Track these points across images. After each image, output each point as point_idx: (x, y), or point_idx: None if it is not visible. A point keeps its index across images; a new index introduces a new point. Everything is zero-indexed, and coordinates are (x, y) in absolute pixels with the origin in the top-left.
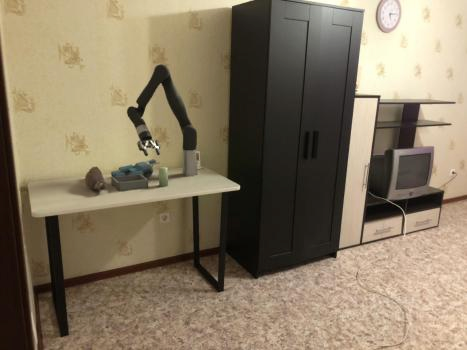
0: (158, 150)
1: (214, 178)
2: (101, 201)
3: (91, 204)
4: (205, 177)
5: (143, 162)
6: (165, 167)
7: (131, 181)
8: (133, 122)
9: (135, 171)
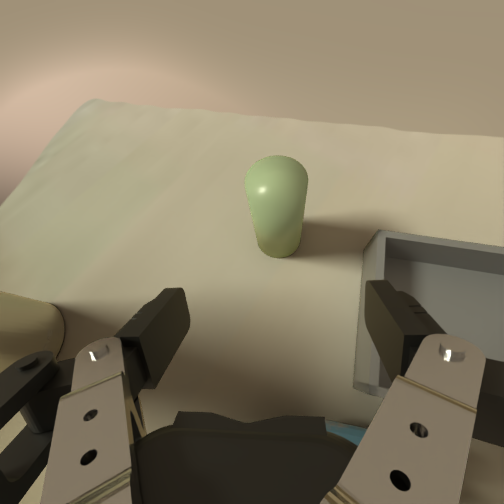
0: (144, 315)
1: (35, 205)
2: None
3: None
4: (41, 239)
5: None
6: (255, 183)
7: (495, 246)
8: None
9: None
